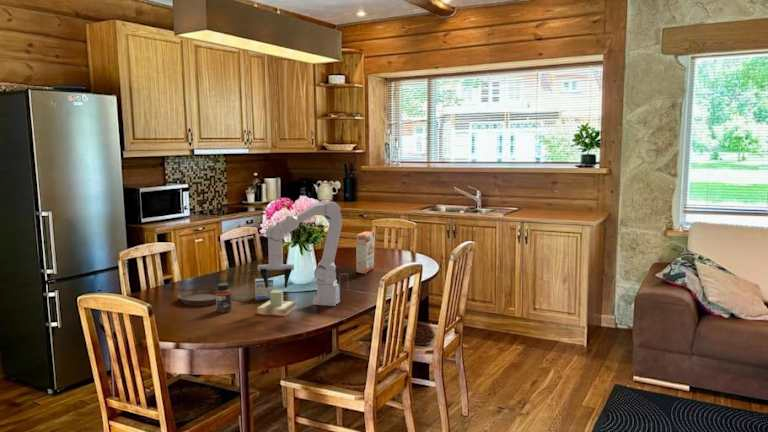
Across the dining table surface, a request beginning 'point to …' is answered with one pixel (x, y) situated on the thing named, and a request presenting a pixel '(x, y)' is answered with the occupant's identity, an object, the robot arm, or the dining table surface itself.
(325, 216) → the robot arm
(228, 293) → the supplement bottle
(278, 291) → the block
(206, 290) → the plant saucer
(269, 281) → the medicine box
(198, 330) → the dining table surface
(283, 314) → the plinth
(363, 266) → the cracker box
